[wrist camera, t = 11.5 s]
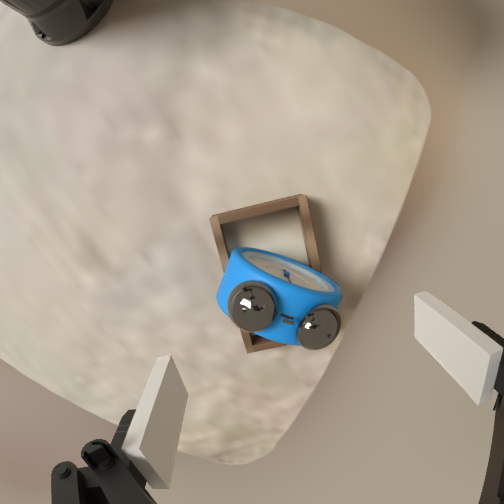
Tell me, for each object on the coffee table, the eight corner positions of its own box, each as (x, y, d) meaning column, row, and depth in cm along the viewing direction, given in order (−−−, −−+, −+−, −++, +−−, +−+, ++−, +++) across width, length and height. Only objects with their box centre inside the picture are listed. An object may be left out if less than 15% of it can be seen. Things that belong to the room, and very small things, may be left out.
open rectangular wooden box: (212, 215, 41) (209, 218, 38) (300, 194, 41) (305, 195, 37) (247, 340, 46) (247, 353, 42) (325, 321, 45) (331, 332, 41)
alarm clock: (326, 270, 42) (366, 315, 27) (309, 310, 43) (338, 370, 28) (234, 237, 40) (229, 270, 26) (219, 281, 41) (207, 333, 27)
